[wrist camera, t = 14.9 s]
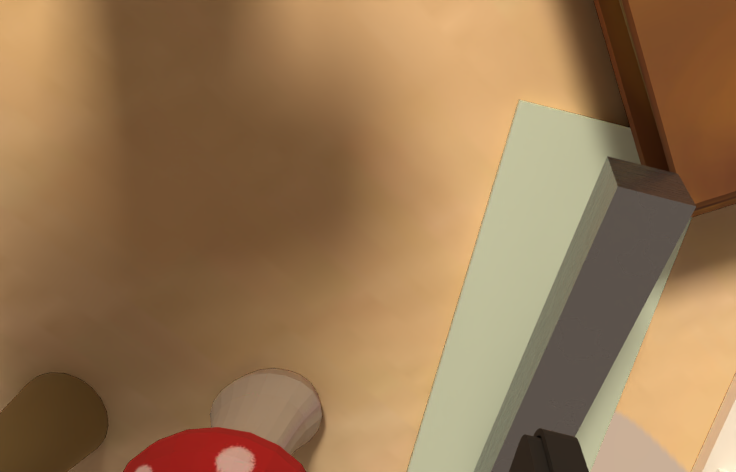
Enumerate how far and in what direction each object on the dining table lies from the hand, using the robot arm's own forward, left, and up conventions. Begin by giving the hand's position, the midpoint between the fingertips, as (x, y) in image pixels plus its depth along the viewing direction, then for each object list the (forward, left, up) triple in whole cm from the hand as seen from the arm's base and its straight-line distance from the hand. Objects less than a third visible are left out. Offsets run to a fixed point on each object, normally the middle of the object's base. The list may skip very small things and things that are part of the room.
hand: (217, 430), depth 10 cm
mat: (+7, +11, -26) cm, 29 cm away
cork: (+21, -16, -26) cm, 37 cm away
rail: (+7, +11, -22) cm, 26 cm away
